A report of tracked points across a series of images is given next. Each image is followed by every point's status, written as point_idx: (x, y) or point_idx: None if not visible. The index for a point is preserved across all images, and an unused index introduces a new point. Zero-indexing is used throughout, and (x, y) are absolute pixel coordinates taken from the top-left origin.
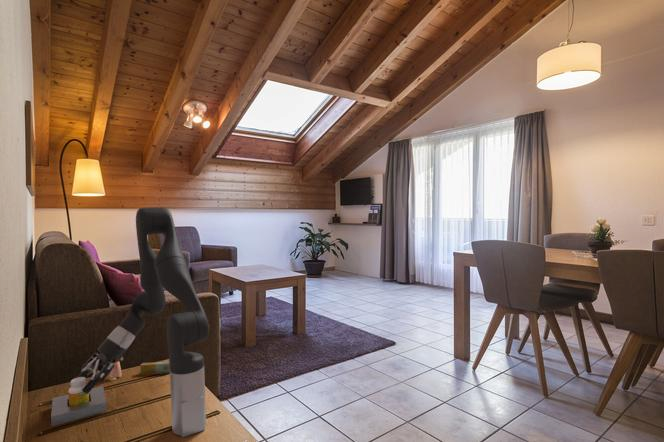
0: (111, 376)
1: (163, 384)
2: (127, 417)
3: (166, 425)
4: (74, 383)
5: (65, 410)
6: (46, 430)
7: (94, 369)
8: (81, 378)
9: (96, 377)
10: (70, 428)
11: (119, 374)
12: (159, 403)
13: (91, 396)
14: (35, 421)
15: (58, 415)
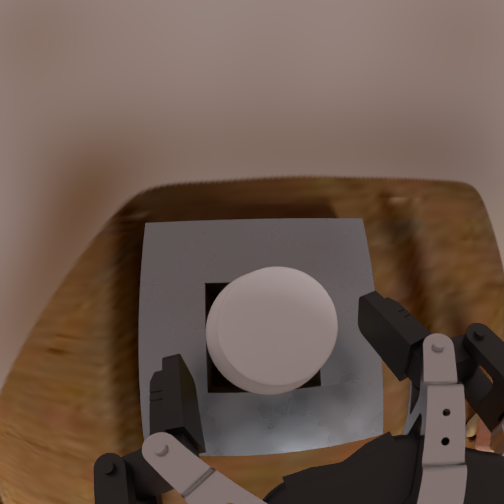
0: (482, 422)
1: None
2: (73, 473)
3: (5, 500)
4: (225, 298)
5: (168, 276)
6: (142, 227)
7: (223, 496)
8: (290, 352)
9: (102, 468)
10: (98, 302)
11: (479, 447)
12: None
13: (274, 395)
14: (249, 188)
15: (143, 250)
